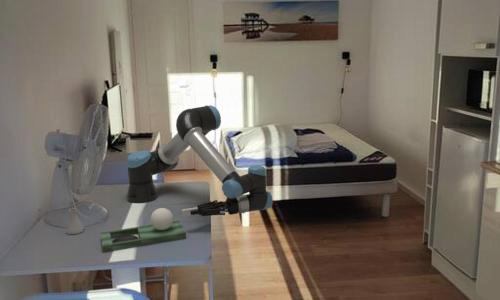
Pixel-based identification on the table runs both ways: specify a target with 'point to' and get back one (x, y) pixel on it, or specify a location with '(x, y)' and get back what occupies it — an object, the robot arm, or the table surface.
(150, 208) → the table surface
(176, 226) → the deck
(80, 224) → the flask
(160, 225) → the ball
